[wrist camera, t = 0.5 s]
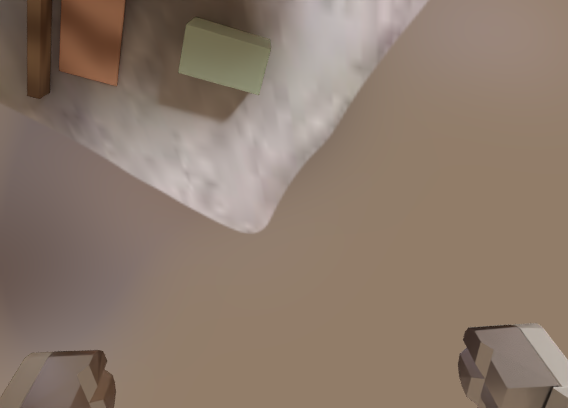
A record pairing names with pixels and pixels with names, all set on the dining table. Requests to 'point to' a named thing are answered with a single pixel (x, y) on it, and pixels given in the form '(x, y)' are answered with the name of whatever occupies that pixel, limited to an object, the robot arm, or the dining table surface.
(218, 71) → the sage block
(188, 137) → the dining table surface
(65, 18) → the brown flat wooden frame
